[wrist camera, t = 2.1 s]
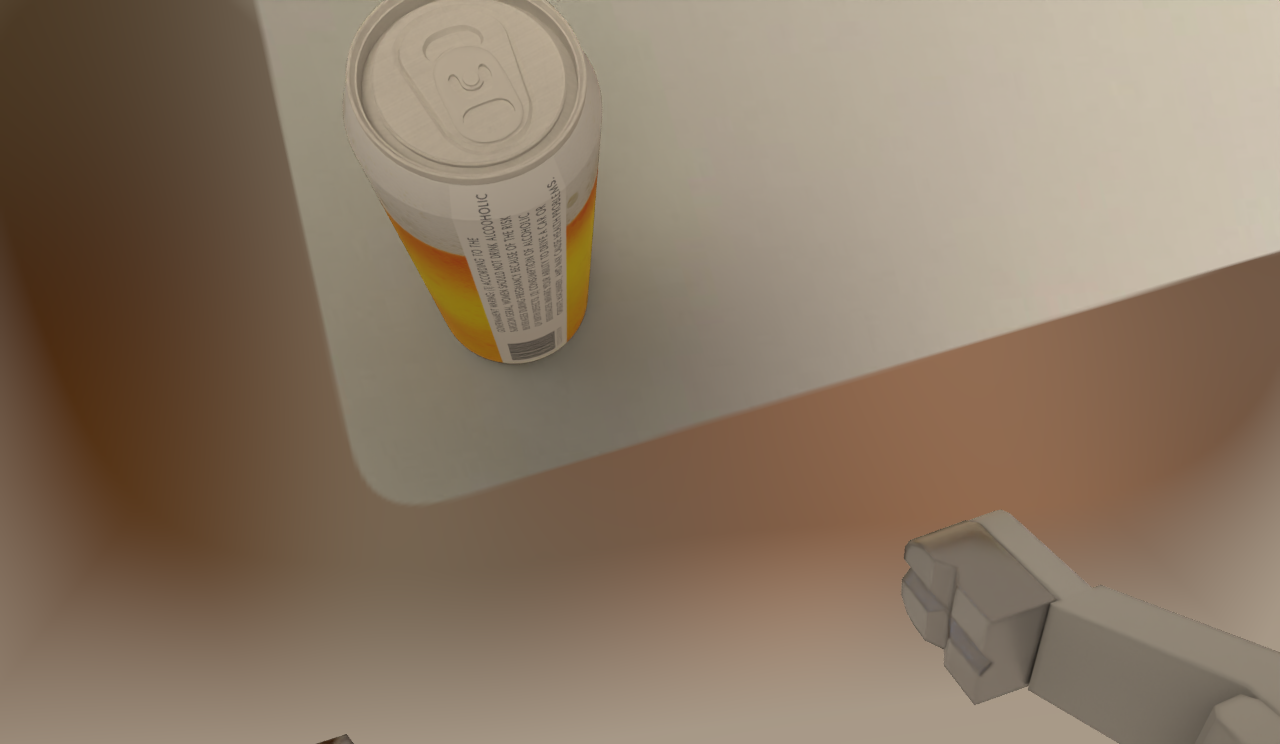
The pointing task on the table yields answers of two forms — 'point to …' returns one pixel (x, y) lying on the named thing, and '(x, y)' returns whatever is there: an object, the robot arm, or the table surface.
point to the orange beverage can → (483, 161)
